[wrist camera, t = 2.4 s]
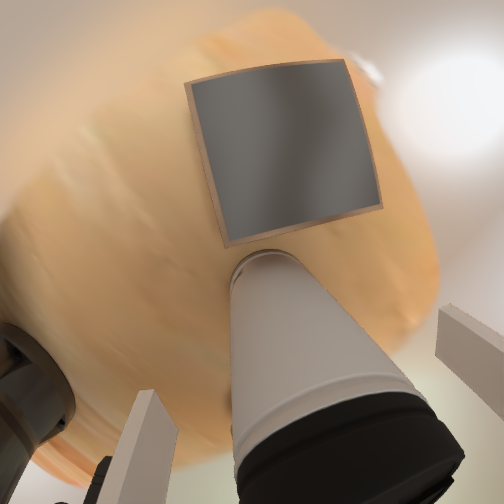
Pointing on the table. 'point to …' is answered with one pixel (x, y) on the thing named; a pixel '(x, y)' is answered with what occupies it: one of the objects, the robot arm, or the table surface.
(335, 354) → the travel mug
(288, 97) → the walnut stand
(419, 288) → the table surface
